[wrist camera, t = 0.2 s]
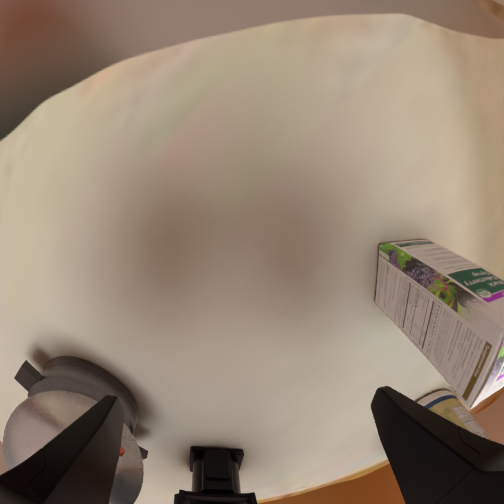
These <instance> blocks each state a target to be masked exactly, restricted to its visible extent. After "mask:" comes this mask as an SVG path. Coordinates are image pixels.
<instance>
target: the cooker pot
mask: <svg viewBox="0 0 504 504" xmlns="http://www.w3.org/2000/svg"><path fill="white" fill-rule="evenodd" d="M14 379H15V380H17V381H18V382H19V383H20V384H21V385H22V386H23V387H24V388H25V389H26V390H27V391H28V392H29V393H28V398H29V397H31V396H33V395H35V394H38V393H42V392H47V391H67V392H74V393H78V394H82V395H84V396H87V397H90V398H92V399H94V400H96V401H99V400H101V399H102V398H103V397H104V396H106V395H108V394H109V395H116V396H118V397H119V398H120V401H121V404H122V407H123V410H124V414H125V417H124V423H125V425H126V426H127V427H128V429H129V430H130V432H131V433H132V434H133V436H134V434H135V430H136V426H137V422H138V418H139V408H138V405H137V402H136V400H135V398H134V397H133V395H132V394H131V392H130V391H129V390H128V389H127V388H126V386H125V385H124V384H123V383H122V382H120V381H119V380H118V379H117V378H116V377H115V376H113V375H112V374H110V373H109V372H108V371H106V370H104V369H103V368H101V367H99V366H97V365H95V364H93V363H91V362H89V361H86V360H83V359H80V358H75V357H68V356H63V357H57V358H54V359H52V360H51V361H49V363H48V364H47V365H46V366H45V368H44V369H43V371H42V372H41V374H40V373H39V372H38V371H37V370H36V369H35V368H34V367H33V366H32V365H31V364H30V363H29V362H28V361H27V360H26V361H25V362H24V363H23V365H22V366H21V368H20V369H19V371H18V373H17V374H16V376H15V378H14ZM138 447H139V449H140V453H141V456H142V460H143V459H146V458H147V454H148V451H147V450H145V449H143V448H141V447H140V446H138Z"/></svg>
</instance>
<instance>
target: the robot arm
mask: <svg viewBox="0 0 504 504" xmlns="http://www.w3.org/2000/svg"><path fill="white" fill-rule="evenodd" d="M371 410H372V413H373V416H374V420H375V423H376V427H377V430H378V434H379V437H380V440H381V443H382V445H383V448H384V450H385V453H386V455H387V458H388V460H389V462H390V465H391V467H392V470H393V472H394V475H395V477H396V480H397V482H398V485H399V487H400V490H401V493H402V495H403V498H404V501H405V503H406V504H504V445H502V444H499V443H497V442H494V441H491V440H489V439H486V438H484V437H481V436H479V435H477V434H474V433H472V432H470V431H468V430H466V429H464V428H462V427H461V426H457V424H455V423H453V422H451V421H449V420H447V419H446V418H444V417H442V416H440V415H438V414H436V413H435V412H433V411H431V410H429V409H427V408H426V407H424V406H422V405H420V404H419V403H417V402H415V401H413V400H411V399H410V398H408V397H406V396H405V395H403V394H401V393H399V392H398V391H396V390H394V389H392V388H391V387H389V386H384V387H380V388H378V389H377V390H376V393H375V395H374V398H373V400H372V403H371ZM124 417H125V414H124V410H123V407H122V404H121V401H120V398H119V397H118V396H116V395H109V394H108V395H106V396H104V397H103V398H102V399H101V400H99V401H98V402H97V403H96V404H95V405H93V406H92V407H91V408H90V409H89V410H87V411H86V412H85V413H84V414H83V415H81V416H80V417H79V418H78V419H76V420H75V421H74V422H73V423H72V424H70V425H69V426H68V427H67V428H65V429H64V430H63V431H62V432H60V433H59V434H58V435H57V436H56V437H54V438H53V439H52V440H51V441H49V442H48V443H47V444H46V445H44V446H43V448H41V449H39V450H38V451H37V452H36V453H34V454H33V455H32V456H30V457H29V458H28V459H26V460H25V461H23V462H22V463H20V464H18V465H17V466H15V467H14V468H12V469H10V470H9V471H7V472H5V473H3V474H2V475H0V504H109V500H110V495H111V491H112V486H113V481H114V477H115V472H116V468H117V464H118V460H119V455H120V449H121V440H122V432H123V425H124ZM243 456H244V451H243V450H230V449H213V448H200V447H191V448H190V471H191V472H193V475H192V491H184V490H179V494H175V496H174V504H257V501H256V496H255V493H241V491H240V481H239V469H240V466H241V462H242V459H243Z"/></svg>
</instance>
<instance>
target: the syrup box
mask: <svg viewBox="0 0 504 504" xmlns="http://www.w3.org/2000/svg"><path fill="white" fill-rule="evenodd" d="M375 303H376V304H377V305H378V306H379V308H380V309H381V310H382V311H383V312H384V313H385V314H386V315H387V316H388V317H389V318H390V319H391V320H392V321H393V322H394V323H395V324H396V325H397V326H398V327H399V329H400V330H401V331H402V332H403V333H404V334H405V335H406V336H407V337H408V338H409V339H410V341H411V342H412V343H413V344H414V345H415V346H416V347H417V348H418V349H419V350H420V351H421V352H422V354H423V355H424V356H425V357H426V358H427V359H428V360H429V361H430V362H431V364H432V365H433V366H434V367H435V368H436V369H437V370H438V372H439V373H440V374H441V375H442V376H443V377H444V379H445V380H446V381H447V382H448V383H449V384H450V385H451V387H452V388H453V389H454V390H455V391H456V393H457V394H458V395H459V396H460V397H461V399H462V400H463V401H464V402H465V403H466V405H467V406H468V407H470V409H472V408H473V407H474V406H476V405H477V404H478V403H479V402H480V401H482V400H484V399H485V398H487V397H488V396H490V395H491V394H493V393H494V392H496V391H498V390H499V389H501V388H502V387H503V386H504V280H503V279H501V278H499V277H498V276H496V275H494V274H492V273H491V272H489V271H487V270H485V269H484V268H482V267H480V266H478V265H476V264H475V263H473V262H471V261H469V260H467V259H466V258H464V257H462V256H460V255H458V254H456V253H454V252H452V251H450V250H448V249H446V248H444V247H442V246H440V245H438V244H436V243H434V242H432V241H430V240H427V239H425V240H411V241H401V242H392V243H382V244H380V245H379V259H378V273H377V286H376V298H375Z"/></svg>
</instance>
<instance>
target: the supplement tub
mask: <svg viewBox="0 0 504 504" xmlns="http://www.w3.org/2000/svg"><path fill="white" fill-rule="evenodd" d="M417 403H419V404H420V405H422V406H424V407H426V408H427V409H429V410H431V411H433V412H435V413H436V414H438V415H440V416H442V417H444V418H446V419H447V420H449V421H451V422H453V423H455V424H457V426H461V427H462V428H464V429H466V430H468V431H470V432H472V433H474V434H477V435H479V436H481V437H484V438H486V439H489V440H491V439H490V438H489V436H488V435H487V434H486V433H485V431H484V430H483V429H482V428H481V426H480V425H479V424H478V423H477V422H476V420H475V419H474V418H473V417H472V416H471V414H470V413H469V412H468V411H467V409H466V408H465V407H464V406H463V405H462V403H461V402H460V401H459V400H458V399H457V398H456V396H455V395H454V394H452V393H451V392H449V391H446V390H443V391H438V392H434V393H432V394H430V395H428V396H426V397H424V398H422V399H420V400H419V401H418V402H417ZM491 441H492V440H491Z"/></svg>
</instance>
